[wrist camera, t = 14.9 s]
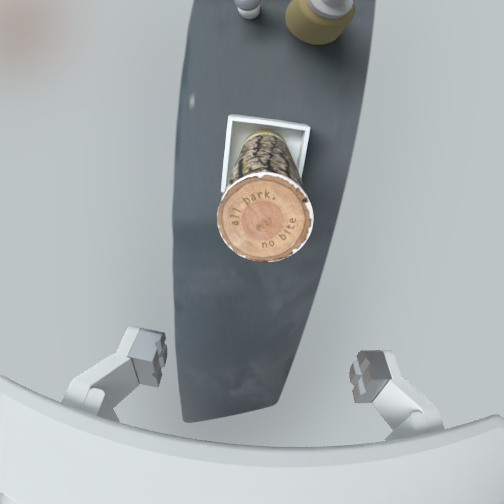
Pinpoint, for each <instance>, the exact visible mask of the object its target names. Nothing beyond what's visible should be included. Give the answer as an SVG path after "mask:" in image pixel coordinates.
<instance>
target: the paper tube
mask: <svg viewBox="0 0 504 504" xmlns="http://www.w3.org/2000/svg"><path fill="white" fill-rule="evenodd" d="M217 224H218V229H219V232H220V234H221V236H222V238H223V240H224V241H225V243H226V244H227V245H228V246H229V248H231V249H232V250H233V251H234V252H235V253H237V254H238V255H240V256H242V257H244V258H246V259H249V260H253V261H258V262H273V261H278V260H282V259H284V258H287V257H289V256H291V255H292V254H294V253H295V252H297V251H298V250H299V249H300V248H301V247H302V246H303V245H304V244H305V242H306V241H307V239H308V238H309V236H310V233H311V231H312V227H313V210H312V206H311V202H310V200H309V197H308V195H307V192H306V189H305V187H304V184H303V182H302V179H301V177H300V175H299V172H298V170H297V167H296V165H295V162H294V160H293V158H292V155H291V153H290V151H289V148H288V146H287V144H286V142H285V140H284V139H283V138H282V137H281V136H280V135H279V134H278V133H276V132H274V131H271V130H259V131H256V132H254V133H252V134H250V135H249V136H248V137H247V138H246V140H245V141H244V143H243V145H242V148H241V150H240V152H239V155H238V157H237V160H236V162H235V165H234V167H233V170H232V172H231V175H230V177H229V180H228V183H227V185H226V188H225V190H224V193H223V195H222V198H221V201H220V204H219V208H218V213H217Z"/></svg>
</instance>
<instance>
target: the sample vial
mask: <svg viewBox="0 0 504 504" xmlns="http://www.w3.org/2000/svg"><path fill="white" fill-rule="evenodd" d="M235 4H236V6H237V7H238V11H239V13H240V15H241V16H242V17H243V18H245V19H254V18H256V17H257V16H258V15H259V13H260V0H235Z"/></svg>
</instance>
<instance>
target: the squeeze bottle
mask: <svg viewBox="0 0 504 504" xmlns="http://www.w3.org/2000/svg"><path fill="white" fill-rule="evenodd" d="M354 12H355V6H354V1H353V0H292V1H291V2H290V4H289V5H288V7H287V10H286V13H285V20H286V25H287V27H288V28H289V30H290V31H291V33H292V34H293V35H294V36H296V37H297V38H298V39H300V40H301V41H304V42H307V43H309V44H312V45H324V44H327V43H330V42H333V41H335V40H336V39H337V38H338V37H339V36H340V35H341V34H342V32H343V31H344V29H345V28H346V27H347V25H348V24H349V23H350V21H351V20H352V18H353V15H354Z"/></svg>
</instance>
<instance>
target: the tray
mask: <svg viewBox="0 0 504 504" xmlns="http://www.w3.org/2000/svg"><path fill="white" fill-rule="evenodd" d="M259 130H271V131H274V132H276V133H278V134H279V135H280V136H281V137H282V138H283V139H284V140H285V142H286V144H287V146H288V148H289V151H290V153H291V155H292V158H293V160H294V162H295V165H296V167H297V170H298V172H299V175H300V177H301V178H302V172H303V167H304V161H305V156H306V150H307V145H308V139H309V133H310V127H309V126H308V125H307V124H301V123H295V122H289V121H283V120H276V119H269V118H261V117H253V116H244V115H234V114H231V115H229V116H228V124H227V134H226V143H225V153H224V164H223V174H222V186H221V192H224V190H225V188H226V185H227V183H228V180H229V177H230V175H231V172H232V170H233V167H234V165H235V162H236V160H237V157H238V155H239V152H240V150H241V148H242V145H243V143H244V141H245V140H246V138H247V137H248V136H249V135H250V134H252V133H254V132H256V131H259Z"/></svg>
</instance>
